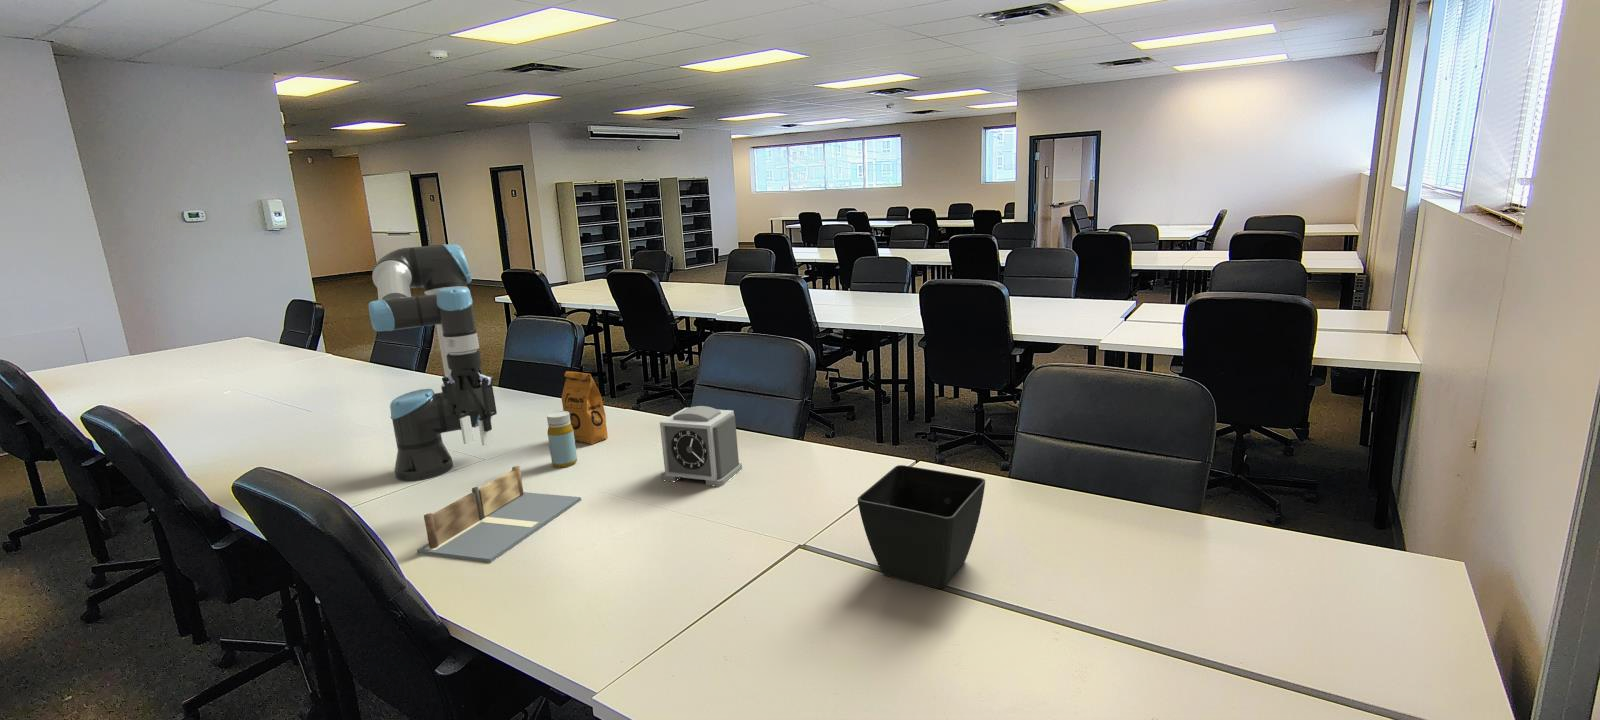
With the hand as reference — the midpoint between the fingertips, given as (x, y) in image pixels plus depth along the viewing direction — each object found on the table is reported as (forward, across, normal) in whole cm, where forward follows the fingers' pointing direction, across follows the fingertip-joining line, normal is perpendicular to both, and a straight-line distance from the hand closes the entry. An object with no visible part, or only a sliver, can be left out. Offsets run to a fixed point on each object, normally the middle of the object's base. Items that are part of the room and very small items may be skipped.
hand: (477, 442), depth 187 cm
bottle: (+17, +2, +30) cm, 34 cm away
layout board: (+17, +13, -9) cm, 23 cm away
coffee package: (+17, -4, +50) cm, 53 cm away
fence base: (+16, +6, -16) cm, 23 cm away
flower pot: (+17, +112, -9) cm, 114 cm away
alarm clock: (+17, +46, +29) cm, 57 cm away
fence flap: (+16, +6, -1) cm, 17 cm away
